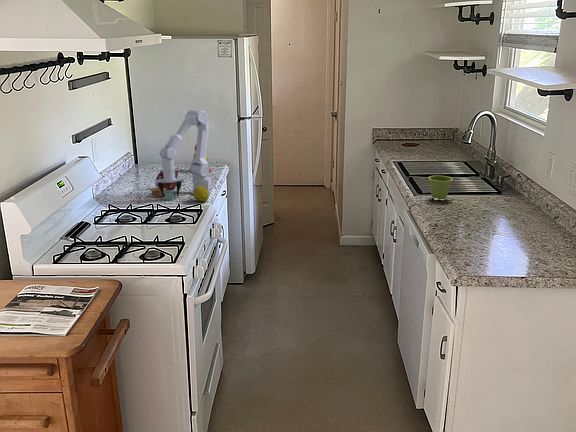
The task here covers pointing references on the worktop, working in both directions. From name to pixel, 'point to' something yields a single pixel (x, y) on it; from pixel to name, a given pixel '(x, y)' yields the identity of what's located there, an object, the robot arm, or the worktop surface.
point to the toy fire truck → (170, 185)
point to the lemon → (201, 193)
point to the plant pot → (440, 186)
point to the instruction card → (183, 195)
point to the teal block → (170, 195)
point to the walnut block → (158, 192)
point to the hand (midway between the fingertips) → (170, 196)
